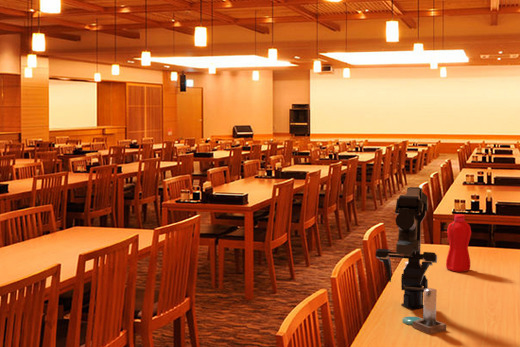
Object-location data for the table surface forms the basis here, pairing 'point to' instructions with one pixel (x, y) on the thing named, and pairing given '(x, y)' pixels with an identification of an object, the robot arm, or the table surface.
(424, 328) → the open brown square box
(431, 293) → the peg
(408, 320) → the shiny teal dome
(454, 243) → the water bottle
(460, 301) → the table surface
